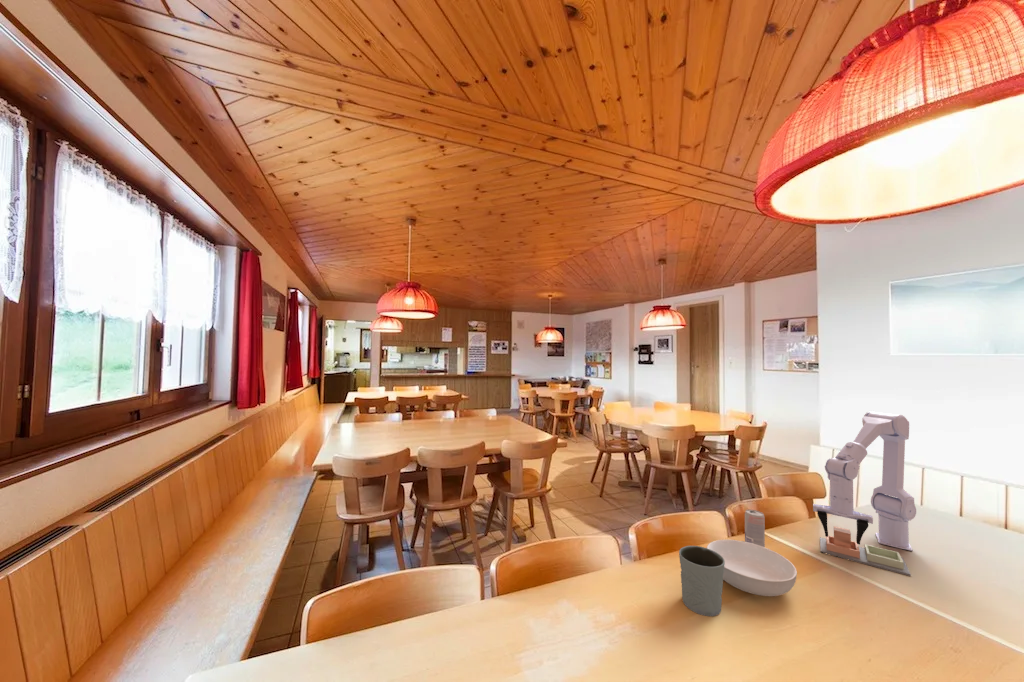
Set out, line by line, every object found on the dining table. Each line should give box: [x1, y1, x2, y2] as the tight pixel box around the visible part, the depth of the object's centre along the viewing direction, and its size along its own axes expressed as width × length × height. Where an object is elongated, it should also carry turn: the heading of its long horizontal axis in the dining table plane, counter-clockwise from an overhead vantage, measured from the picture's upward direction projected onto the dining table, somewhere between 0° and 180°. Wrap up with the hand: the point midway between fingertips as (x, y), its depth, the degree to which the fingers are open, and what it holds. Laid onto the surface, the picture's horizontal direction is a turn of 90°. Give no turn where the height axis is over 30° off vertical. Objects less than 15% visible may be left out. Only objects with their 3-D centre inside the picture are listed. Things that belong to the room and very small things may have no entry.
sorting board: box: [819, 534, 912, 577], centre depth 119 cm, size 12×20×3 cm, turn 52°
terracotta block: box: [833, 526, 852, 549], centre depth 122 cm, size 4×4×6 cm
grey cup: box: [678, 545, 725, 617], centre depth 93 cm, size 10×10×12 cm
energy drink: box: [744, 509, 766, 548], centre depth 121 cm, size 5×5×12 cm
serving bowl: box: [706, 539, 798, 597], centre depth 103 cm, size 21×21×7 cm
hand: (842, 539), depth 122 cm, fingers open, 7 cm apart
